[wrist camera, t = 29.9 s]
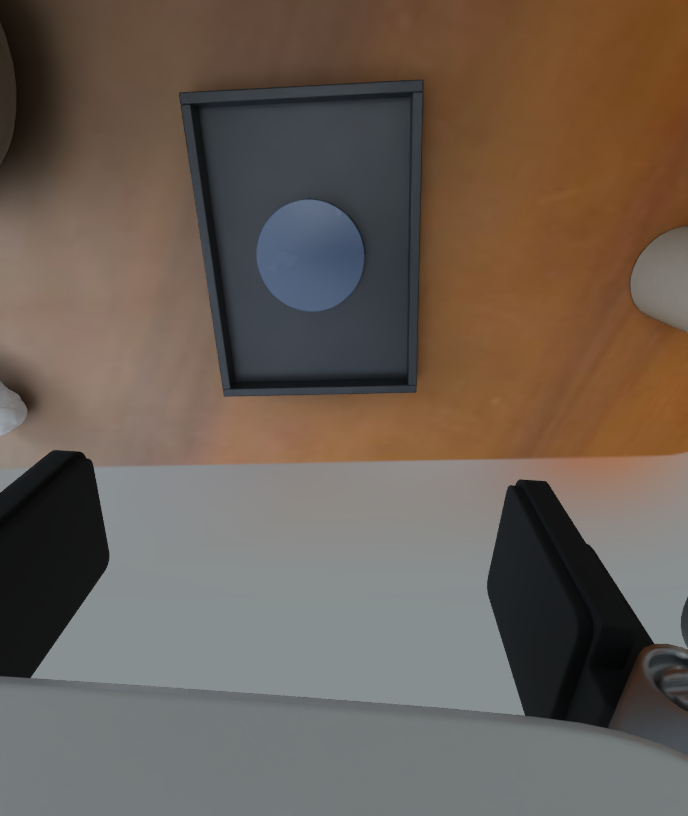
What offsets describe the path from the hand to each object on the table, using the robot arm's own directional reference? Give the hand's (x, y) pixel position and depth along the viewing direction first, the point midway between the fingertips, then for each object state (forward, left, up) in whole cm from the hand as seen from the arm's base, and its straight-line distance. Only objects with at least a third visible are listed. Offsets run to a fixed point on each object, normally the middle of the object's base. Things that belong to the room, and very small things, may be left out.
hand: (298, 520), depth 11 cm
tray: (+3, +2, -26) cm, 26 cm away
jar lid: (+3, +2, -24) cm, 24 cm away
